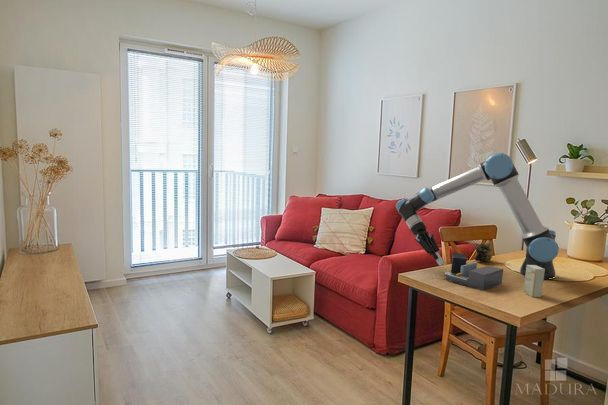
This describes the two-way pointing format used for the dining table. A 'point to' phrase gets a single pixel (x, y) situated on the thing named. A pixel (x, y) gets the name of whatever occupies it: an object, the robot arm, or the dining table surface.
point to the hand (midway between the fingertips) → (442, 264)
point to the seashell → (484, 252)
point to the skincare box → (534, 280)
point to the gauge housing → (479, 278)
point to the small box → (457, 262)
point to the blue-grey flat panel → (467, 269)
